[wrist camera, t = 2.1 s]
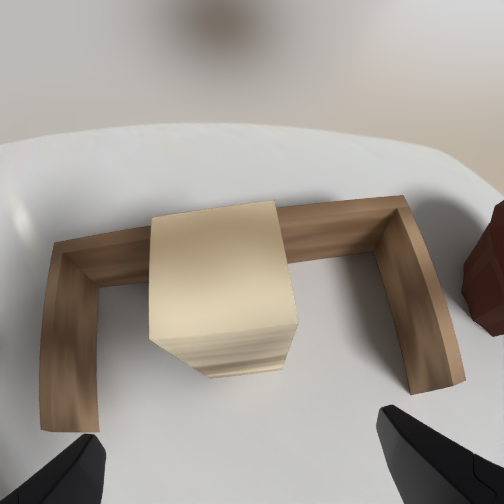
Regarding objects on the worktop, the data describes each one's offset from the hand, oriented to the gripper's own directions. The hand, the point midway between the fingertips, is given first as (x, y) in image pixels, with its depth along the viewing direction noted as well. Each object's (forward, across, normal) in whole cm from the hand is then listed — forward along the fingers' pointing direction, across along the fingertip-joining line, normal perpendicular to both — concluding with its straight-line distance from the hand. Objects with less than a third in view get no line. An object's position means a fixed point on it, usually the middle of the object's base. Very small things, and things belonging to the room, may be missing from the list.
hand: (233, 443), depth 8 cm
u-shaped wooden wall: (+13, 0, +4) cm, 14 cm away
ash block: (+13, 0, +4) cm, 14 cm away
